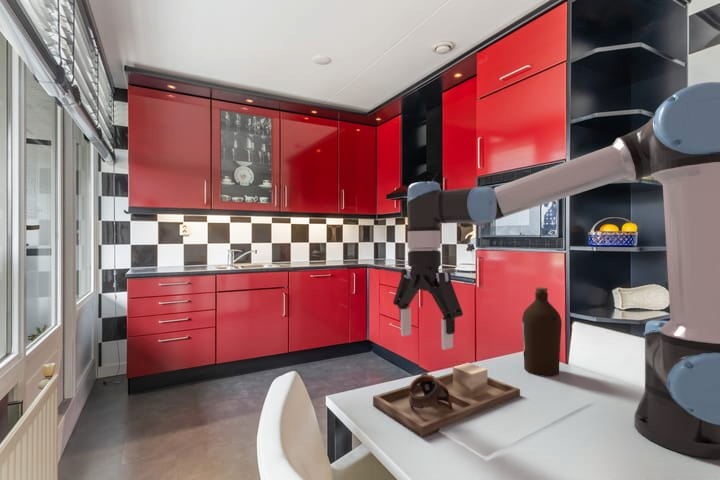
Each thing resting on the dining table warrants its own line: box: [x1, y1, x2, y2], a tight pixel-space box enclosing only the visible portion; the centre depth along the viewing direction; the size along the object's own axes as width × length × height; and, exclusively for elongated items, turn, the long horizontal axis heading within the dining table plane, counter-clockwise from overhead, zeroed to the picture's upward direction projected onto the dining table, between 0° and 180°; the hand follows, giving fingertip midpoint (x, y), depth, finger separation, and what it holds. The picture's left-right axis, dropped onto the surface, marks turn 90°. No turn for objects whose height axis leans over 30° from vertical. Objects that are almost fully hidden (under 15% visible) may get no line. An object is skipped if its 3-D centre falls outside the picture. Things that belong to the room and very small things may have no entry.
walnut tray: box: [372, 372, 521, 438], centre depth 89 cm, size 17×33×2 cm, turn 124°
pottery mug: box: [408, 372, 452, 409], centre depth 85 cm, size 12×9×8 cm
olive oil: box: [521, 286, 563, 377], centre depth 109 cm, size 11×11×25 cm
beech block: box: [452, 362, 488, 399], centre depth 93 cm, size 6×6×6 cm
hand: (425, 341), depth 84 cm, fingers open, 13 cm apart
